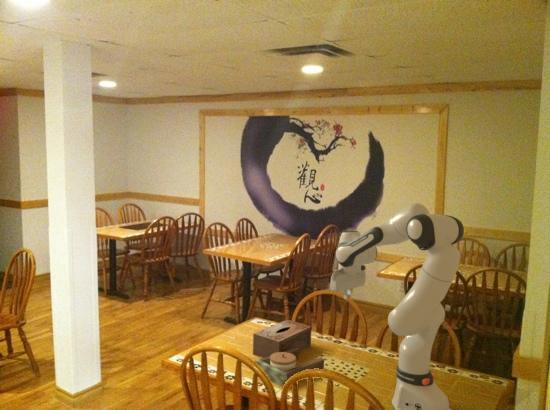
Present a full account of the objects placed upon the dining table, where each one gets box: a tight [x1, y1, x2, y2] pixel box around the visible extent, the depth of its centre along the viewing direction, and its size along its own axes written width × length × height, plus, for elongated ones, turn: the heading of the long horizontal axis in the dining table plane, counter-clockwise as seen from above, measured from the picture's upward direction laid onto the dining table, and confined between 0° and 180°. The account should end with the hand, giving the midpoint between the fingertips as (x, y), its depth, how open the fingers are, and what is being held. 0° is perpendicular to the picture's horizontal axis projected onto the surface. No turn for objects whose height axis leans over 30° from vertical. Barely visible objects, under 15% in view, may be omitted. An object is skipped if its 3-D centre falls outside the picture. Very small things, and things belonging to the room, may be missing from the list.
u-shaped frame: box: [254, 347, 325, 388], centre depth 208 cm, size 17×24×5 cm
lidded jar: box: [270, 352, 297, 372], centre depth 204 cm, size 11×11×9 cm
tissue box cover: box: [252, 319, 312, 359], centre depth 230 cm, size 26×14×10 cm, turn 143°
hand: (347, 298), depth 215 cm, fingers closed
